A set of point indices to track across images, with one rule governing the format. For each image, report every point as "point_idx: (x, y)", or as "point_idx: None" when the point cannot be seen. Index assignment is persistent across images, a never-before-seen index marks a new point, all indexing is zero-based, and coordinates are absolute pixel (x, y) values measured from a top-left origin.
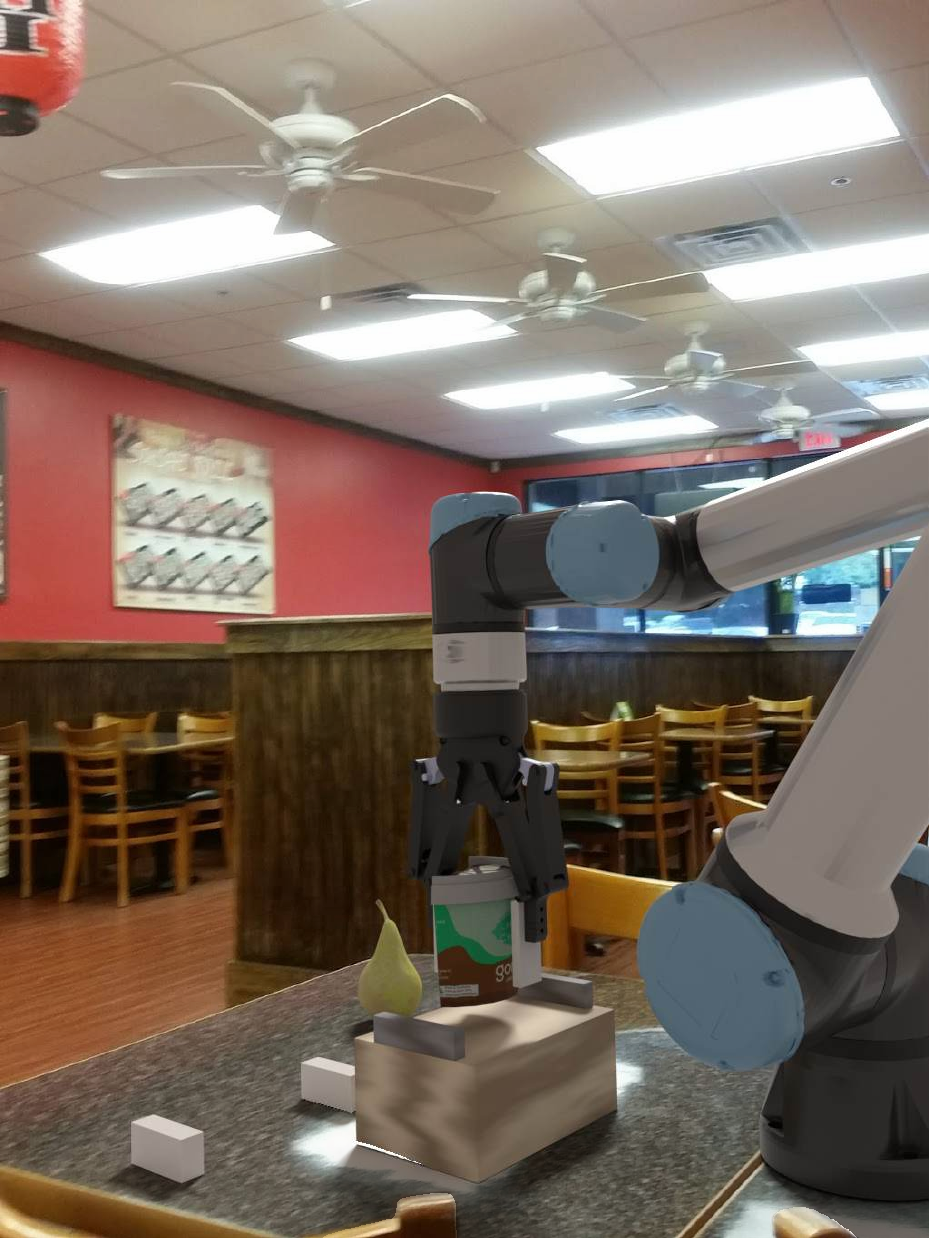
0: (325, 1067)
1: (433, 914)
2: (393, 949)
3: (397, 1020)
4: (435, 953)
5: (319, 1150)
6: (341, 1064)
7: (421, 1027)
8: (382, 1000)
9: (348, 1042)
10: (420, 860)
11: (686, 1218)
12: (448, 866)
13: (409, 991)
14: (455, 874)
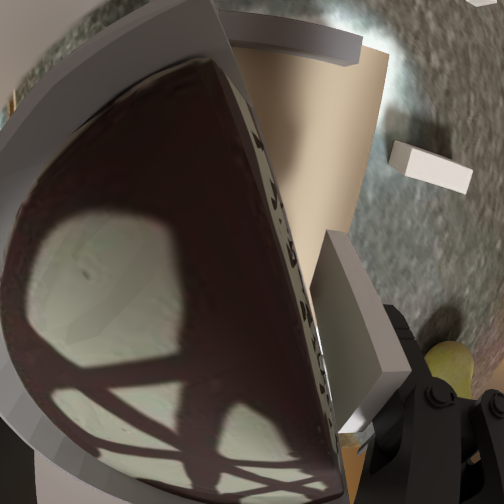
0: (447, 164)
1: (386, 314)
2: (456, 393)
3: (299, 21)
4: (352, 252)
5: (367, 41)
6: (437, 180)
7: (233, 11)
8: (449, 349)
9: (459, 299)
10: (485, 453)
11: (18, 101)
12: (379, 476)
13: (431, 368)
14: (298, 439)
